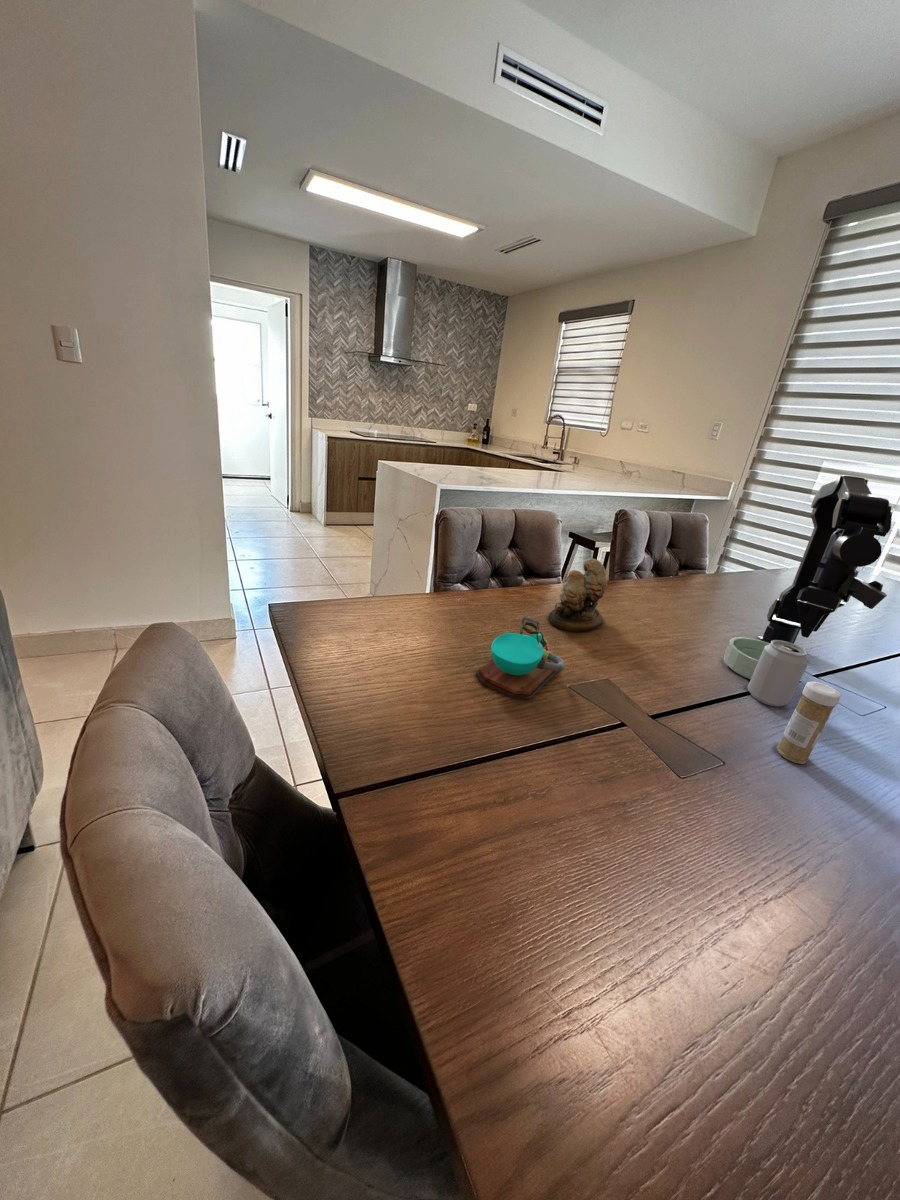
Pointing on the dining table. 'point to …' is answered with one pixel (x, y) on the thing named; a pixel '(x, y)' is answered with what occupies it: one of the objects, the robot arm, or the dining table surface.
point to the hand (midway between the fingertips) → (809, 633)
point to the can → (778, 673)
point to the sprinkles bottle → (807, 722)
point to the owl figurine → (581, 598)
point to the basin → (744, 655)
